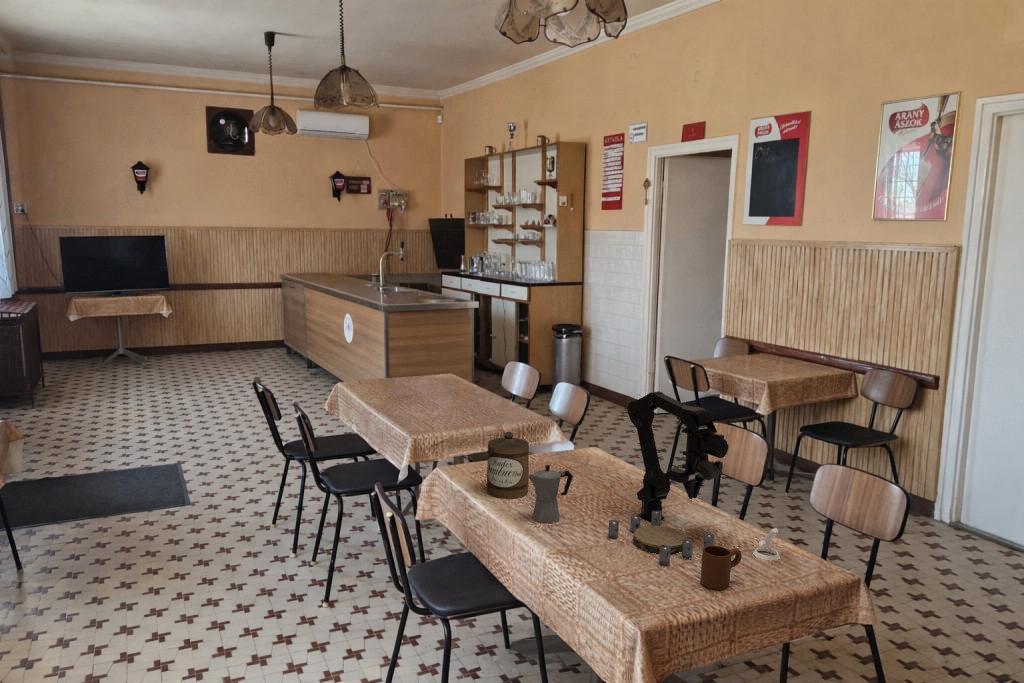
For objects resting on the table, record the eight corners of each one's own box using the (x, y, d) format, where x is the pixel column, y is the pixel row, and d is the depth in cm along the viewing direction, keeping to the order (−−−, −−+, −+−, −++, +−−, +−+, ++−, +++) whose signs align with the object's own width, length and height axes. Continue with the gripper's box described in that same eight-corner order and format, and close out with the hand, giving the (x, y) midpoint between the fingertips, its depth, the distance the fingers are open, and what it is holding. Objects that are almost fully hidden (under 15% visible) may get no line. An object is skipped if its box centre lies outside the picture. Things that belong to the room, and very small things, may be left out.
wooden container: (480, 495, 267) (482, 435, 264) (494, 483, 281) (496, 425, 278) (520, 501, 263) (522, 439, 260) (533, 488, 277) (535, 429, 274)
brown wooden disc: (693, 542, 232) (694, 532, 232) (676, 560, 219) (677, 550, 218) (644, 530, 240) (644, 521, 240) (625, 547, 227) (625, 538, 226)
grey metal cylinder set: (606, 536, 234) (606, 520, 233) (656, 523, 246) (656, 508, 245) (664, 567, 214) (665, 550, 213) (715, 551, 225) (716, 535, 224)
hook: (779, 553, 212) (762, 533, 216) (762, 574, 221) (745, 555, 224) (797, 542, 216) (779, 523, 220) (779, 564, 224) (762, 545, 228)
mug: (729, 573, 211) (732, 541, 209) (748, 585, 204) (751, 552, 202) (694, 580, 206) (696, 547, 204) (712, 592, 199) (714, 558, 198)
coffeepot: (531, 525, 241) (533, 470, 239) (522, 515, 250) (523, 462, 248) (576, 521, 246) (578, 467, 243) (565, 511, 255) (567, 459, 252)
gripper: (693, 460, 221) (690, 512, 223) (736, 452, 231) (733, 501, 233) (666, 451, 230) (663, 500, 232) (709, 443, 240) (705, 490, 243)
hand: (692, 498), depth 235 cm, fingers closed
